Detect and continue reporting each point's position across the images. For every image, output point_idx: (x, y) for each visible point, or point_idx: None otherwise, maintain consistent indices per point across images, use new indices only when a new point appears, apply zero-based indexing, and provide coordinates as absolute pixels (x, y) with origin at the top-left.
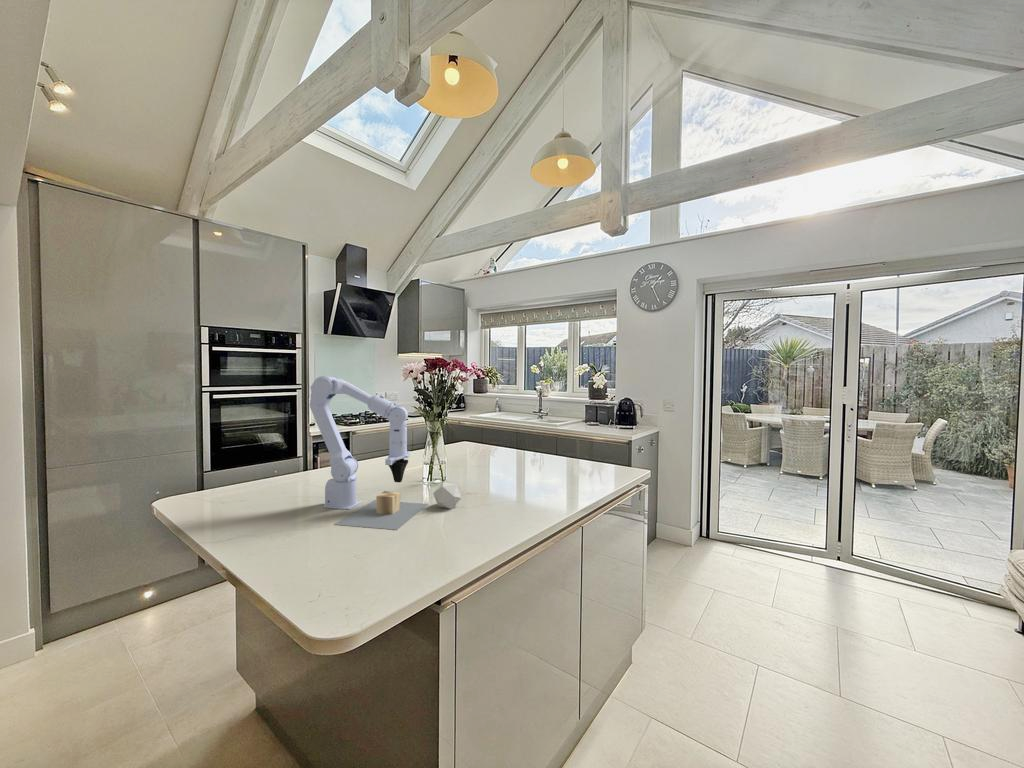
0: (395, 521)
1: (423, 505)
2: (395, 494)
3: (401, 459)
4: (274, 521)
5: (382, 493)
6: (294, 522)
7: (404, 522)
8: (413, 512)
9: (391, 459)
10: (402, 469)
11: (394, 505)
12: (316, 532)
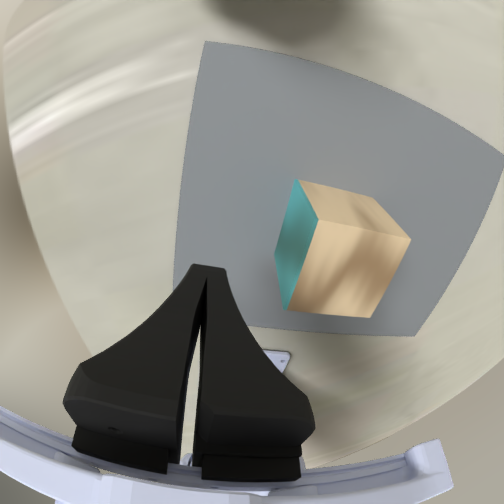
0: (451, 170)
1: (235, 63)
2: (364, 236)
3: (150, 462)
4: (347, 418)
5: (329, 307)
6: (364, 397)
7: (465, 135)
8: (357, 101)
9: (447, 487)
10: (224, 344)
11: (369, 208)
12: (442, 343)
